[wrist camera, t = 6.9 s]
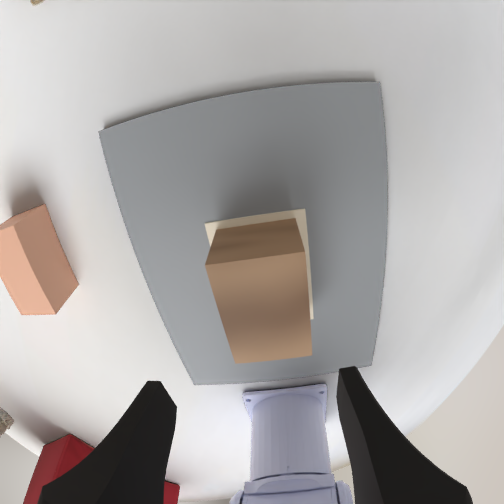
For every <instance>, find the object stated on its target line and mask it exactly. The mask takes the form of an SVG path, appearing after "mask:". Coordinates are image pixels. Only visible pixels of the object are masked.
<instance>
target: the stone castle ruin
mask: <svg viewBox="0 0 504 504" xmlns="http://www.w3.org/2000/svg"><path fill="white" fill-rule="evenodd" d="M13 422H14V420H13V419H12V417H11V416H10V415H9V414H8V413H6V412H5V411H4V410H3V409H2V408H1V407H0V436H1V435H2V434H4V432H5V431H6V429H10V426H11V425H12V424H13Z"/></svg>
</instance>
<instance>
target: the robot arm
mask: <svg viewBox="0 0 504 504" xmlns="http://www.w3.org/2000/svg"><path fill="white" fill-rule="evenodd" d="M336 397H337V404H338V411H339V418H340V422H341V426H342V430H343V434H344V438H345V442H346V446H347V450H348V454H349V458H350V463H351V468H352V475H353V484H354V494H355V504H473V502H472V498H471V496H470V494H469V491H468V489H467V487H466V486H464V485H463V484H461V483H459V482H458V481H456V480H455V479H453V478H452V477H450V476H449V475H447V474H446V473H445V472H443V471H442V470H441V469H439V468H438V467H437V466H435V465H434V464H433V463H432V462H431V461H430V460H429V459H427V458H426V457H425V456H424V455H423V454H422V453H421V452H420V451H418V450H417V449H416V448H415V447H414V446H413V445H412V444H411V443H410V441H408V439H407V438H406V437H405V436H404V435H403V434H402V433H401V432H400V430H399V429H398V428H397V427H396V426H395V424H394V423H393V422H392V421H391V419H390V418H389V417H388V416H387V414H386V413H385V412H384V410H383V409H382V407H381V406H380V405H379V403H378V402H377V400H376V399H375V397H374V396H373V394H372V393H371V391H370V390H369V388H368V386H367V385H366V383H365V381H364V380H363V378H362V376H361V374H360V373H359V371H358V369H357V367H355V366H351V367H345V368H340V369H339V376H338V386H337V396H336ZM242 398H243V401H244V403H245V406H246V409H247V411H248V414H249V417H250V419H251V422H252V434H251V465H250V482H245V486H244V490H239V491H238V492H237V493H236V494H235V495H234V496H233V497H232V498H231V500H230V503H229V504H353V500H352V495H351V491H350V488H349V485H347V484H346V483H344V482H343V481H342V480H341V481H336V482H335V480H334V474H331V465H330V457H329V450H328V442H327V435H326V428H325V420H326V403H327V385H326V384H317V385H310V386H303V387H295V388H286V389H277V390H266V391H253V392H245V393H243V394H242ZM176 412H177V406H176V405H175V403H174V402H173V400H172V399H171V397H170V396H169V394H168V392H167V391H166V389H165V388H164V386H163V385H162V383H161V381H147V382H146V384H145V385H144V387H143V388H142V389H141V391H140V392H139V394H138V395H137V397H136V398H135V399H134V401H133V402H132V404H131V405H130V406H129V408H128V409H127V411H126V412H125V413H124V415H123V416H122V417H121V419H120V420H119V421H118V423H117V424H116V425H115V426H114V428H113V429H112V430H111V431H110V432H109V434H108V435H107V436H106V437H105V438H104V439H103V441H102V442H101V443H100V444H99V445H98V446H97V447H96V448H95V449H94V450H93V451H92V452H91V453H90V454H89V455H87V456H86V457H85V458H84V459H83V460H82V461H81V462H79V463H78V464H77V465H76V466H74V467H73V468H72V469H70V470H69V471H67V472H66V473H65V474H63V475H62V476H60V477H58V478H57V479H55V480H53V481H51V482H49V483H48V484H46V485H44V486H43V487H42V489H41V493H40V496H39V499H38V502H37V504H164V484H165V474H166V468H167V463H168V458H169V454H170V449H171V445H172V440H173V435H174V431H175V424H176Z"/></svg>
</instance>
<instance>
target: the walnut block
mask: <svg viewBox="0 0 504 504" xmlns="http://www.w3.org/2000/svg"><path fill="white" fill-rule="evenodd" d="M205 268H206V271H207V275H208V278H209V281H210V285H211V288H212V292H213V295H214V298H215V302H216V305H217V308H218V311H219V315H220V318H221V321H222V324H223V327H224V330H225V334H226V337H227V340H228V343H229V346H230V349H231V352H232V355H233V358H234V361H235V364H239V363H251V362H262V361H272V360H281V359H289V358H297V357H305V356H312V339H311V321H310V305H309V291H308V278H307V266H306V255H305V249H304V246H303V242H302V239H301V235H300V232H299V228H298V225H297V222H296V218H292V219H285V220H278V221H271V222H264V223H257V224H250V225H243V226H237V227H230V228H224V229H217V230H216V232H215V235H214V238H213V241H212V244H211V247H210V250H209V253H208V257H207V260H206V263H205Z"/></svg>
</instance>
